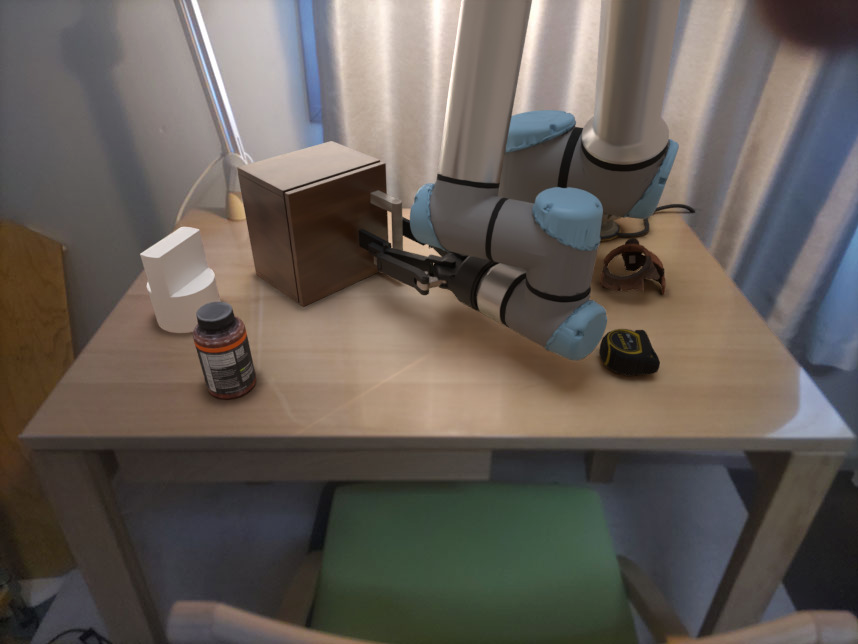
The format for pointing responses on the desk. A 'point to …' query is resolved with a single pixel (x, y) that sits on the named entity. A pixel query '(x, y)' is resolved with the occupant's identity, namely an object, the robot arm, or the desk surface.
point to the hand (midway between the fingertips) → (379, 230)
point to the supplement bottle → (223, 351)
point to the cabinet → (268, 204)
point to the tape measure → (629, 352)
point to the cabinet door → (339, 229)
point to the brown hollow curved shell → (633, 268)
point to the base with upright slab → (179, 279)
